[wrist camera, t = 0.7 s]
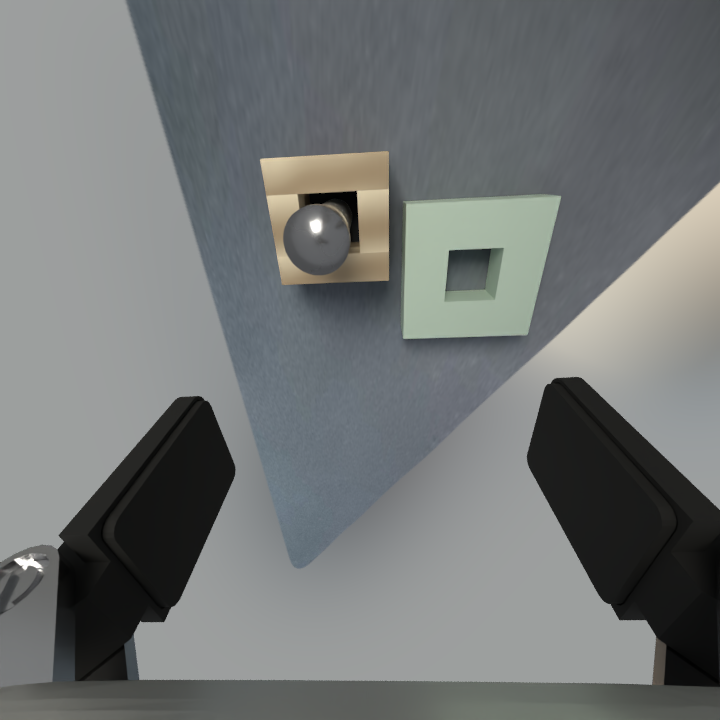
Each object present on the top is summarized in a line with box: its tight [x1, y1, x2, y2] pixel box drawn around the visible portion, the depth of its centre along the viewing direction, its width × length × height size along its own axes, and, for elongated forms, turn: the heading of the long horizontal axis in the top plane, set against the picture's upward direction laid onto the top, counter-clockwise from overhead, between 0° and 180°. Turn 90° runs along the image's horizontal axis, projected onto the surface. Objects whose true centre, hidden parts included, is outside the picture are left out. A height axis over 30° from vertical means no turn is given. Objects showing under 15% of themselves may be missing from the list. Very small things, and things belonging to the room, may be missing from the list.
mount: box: [260, 151, 389, 285], centre depth 26 cm, size 9×9×5 cm
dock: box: [401, 194, 561, 339], centre depth 29 cm, size 12×12×3 cm
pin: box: [283, 199, 353, 276], centre depth 23 cm, size 4×4×12 cm
